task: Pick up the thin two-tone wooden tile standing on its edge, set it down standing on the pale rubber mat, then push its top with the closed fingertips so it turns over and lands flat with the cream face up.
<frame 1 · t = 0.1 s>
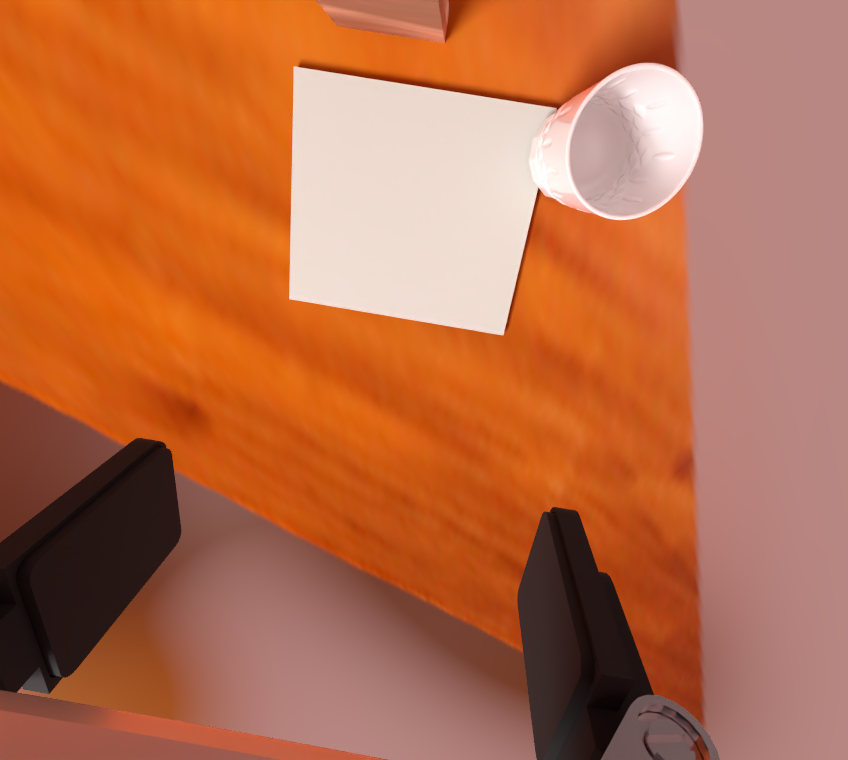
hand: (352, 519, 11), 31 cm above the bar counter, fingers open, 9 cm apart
white cup: (570, 155, 34), on the bar counter
tile: (392, 17, 32), on the bar counter
mat: (409, 213, 37), on the bar counter
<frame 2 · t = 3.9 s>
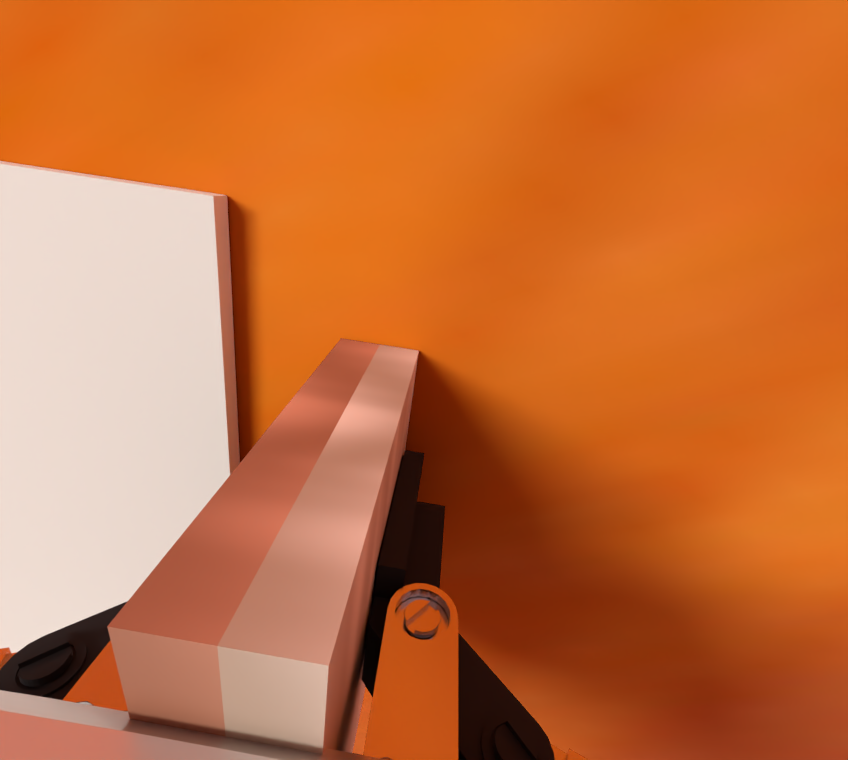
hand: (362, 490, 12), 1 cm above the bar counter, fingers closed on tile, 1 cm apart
tile: (367, 472, 13), on the bar counter, touching gripper
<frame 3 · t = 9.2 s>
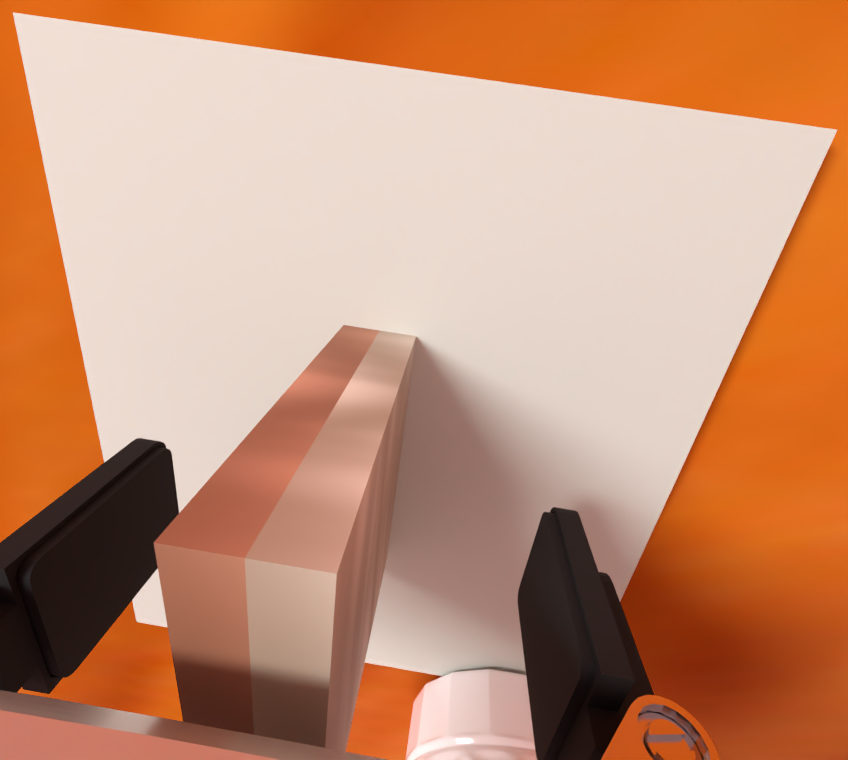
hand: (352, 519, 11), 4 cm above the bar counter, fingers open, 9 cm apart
white cup: (493, 703, 19), on the bar counter, touching mat
tile: (368, 452, 14), point 1 cm above the bar counter, touching mat
mat: (378, 444, 14), on the bar counter
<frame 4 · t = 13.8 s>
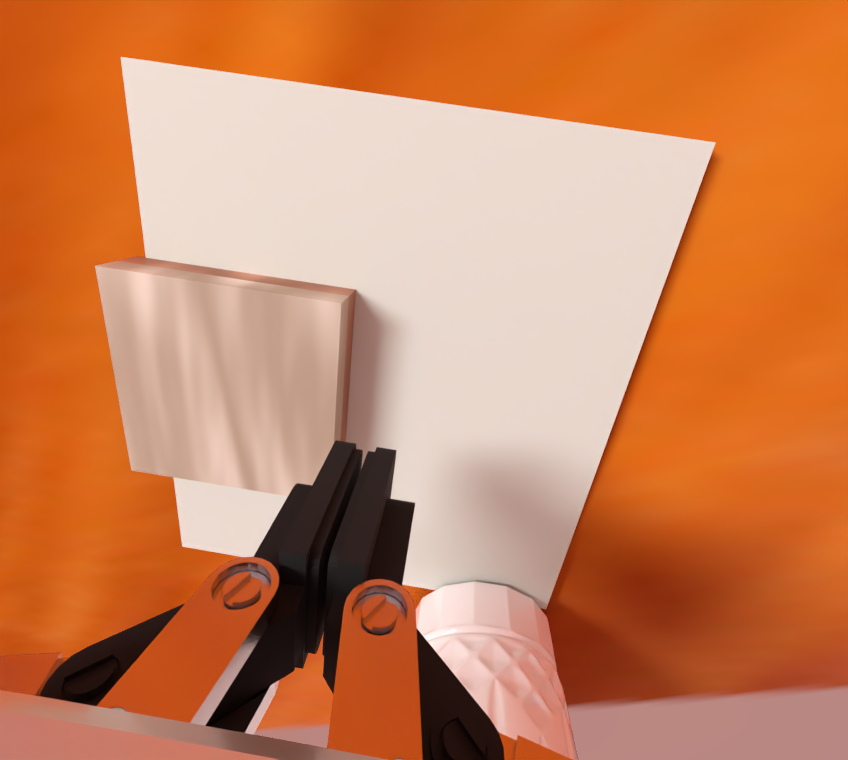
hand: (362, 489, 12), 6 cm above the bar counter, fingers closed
white cup: (479, 617, 22), on the bar counter, touching mat
tile: (342, 401, 16), point 2 cm above the bar counter, tilted 90°, touching mat
mat: (384, 389, 18), on the bar counter
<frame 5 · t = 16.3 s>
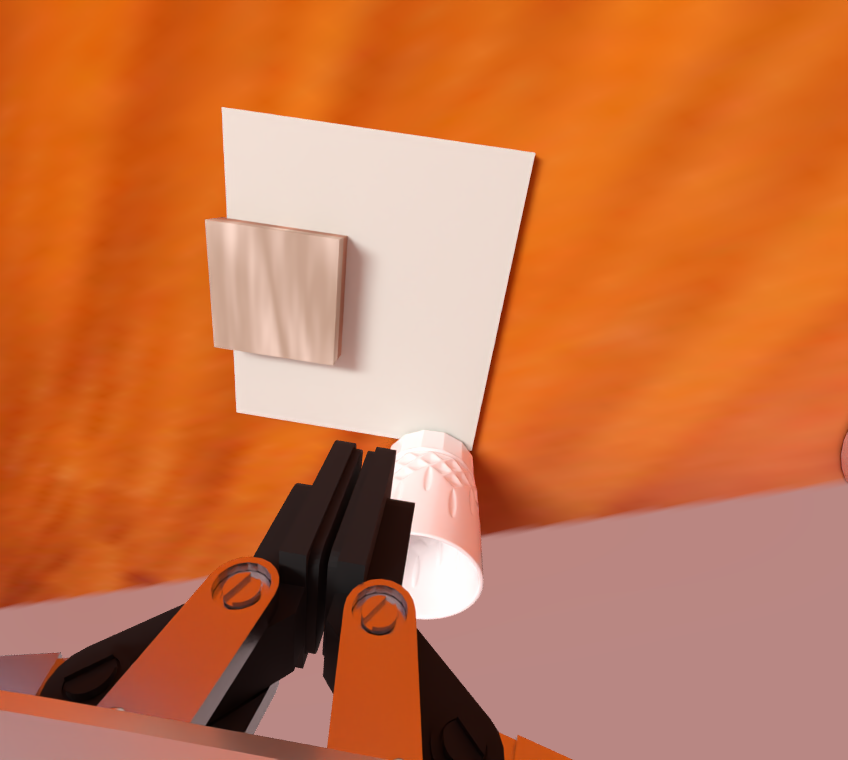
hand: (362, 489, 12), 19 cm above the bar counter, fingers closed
white cup: (430, 462, 34), on the bar counter, touching mat
tile: (340, 302, 28), point 2 cm above the bar counter, tilted 90°, touching mat
mat: (365, 299, 30), on the bar counter
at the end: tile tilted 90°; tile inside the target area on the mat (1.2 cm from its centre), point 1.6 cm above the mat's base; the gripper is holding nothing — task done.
